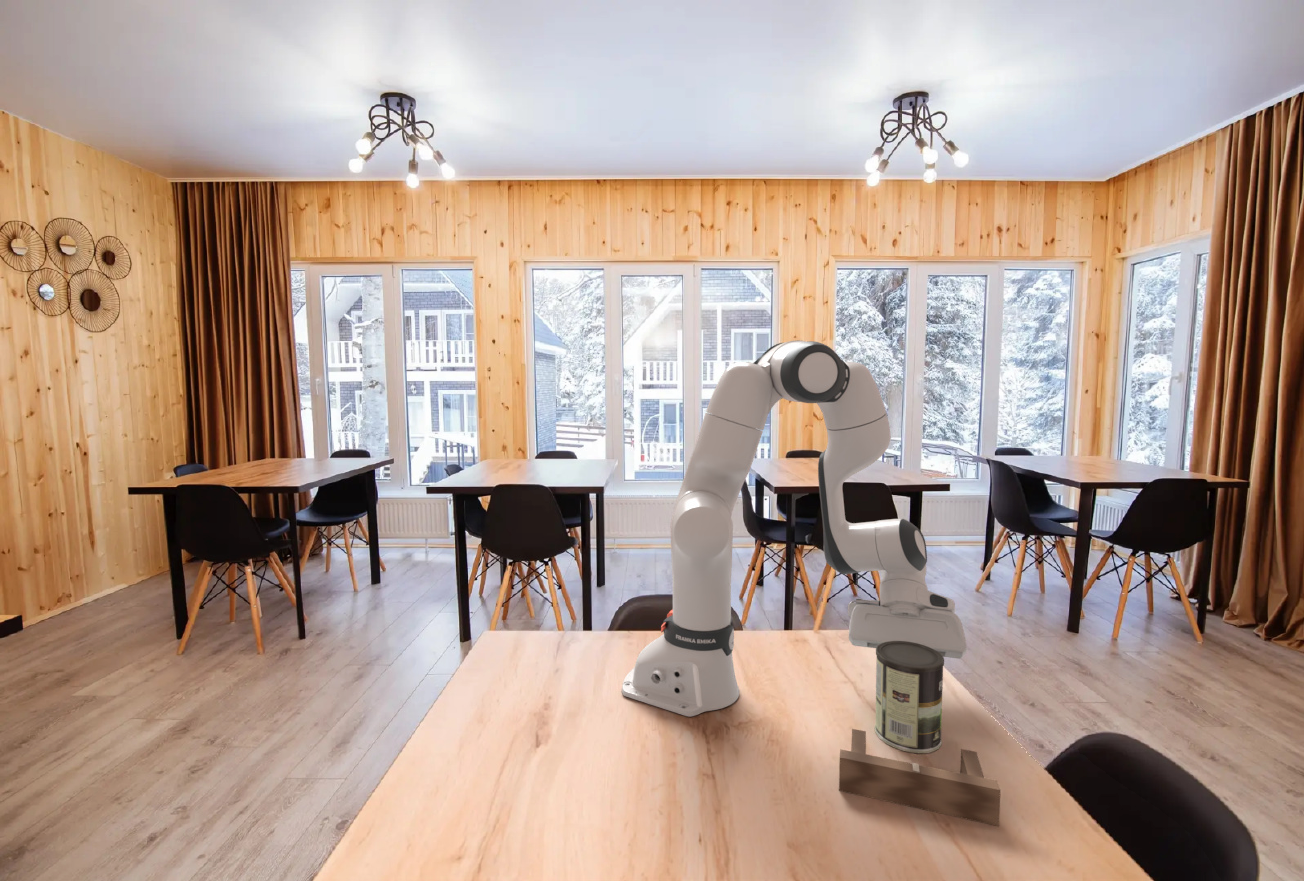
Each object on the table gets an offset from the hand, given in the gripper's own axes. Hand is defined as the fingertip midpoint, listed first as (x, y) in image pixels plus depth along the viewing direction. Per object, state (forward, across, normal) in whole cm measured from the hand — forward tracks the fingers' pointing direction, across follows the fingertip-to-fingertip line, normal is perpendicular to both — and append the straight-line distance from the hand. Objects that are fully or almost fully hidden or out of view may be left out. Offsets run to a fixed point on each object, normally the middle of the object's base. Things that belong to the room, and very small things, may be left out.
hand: (906, 674), depth 104 cm
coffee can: (+11, 0, -3) cm, 12 cm away
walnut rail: (+21, 0, -13) cm, 24 cm away
